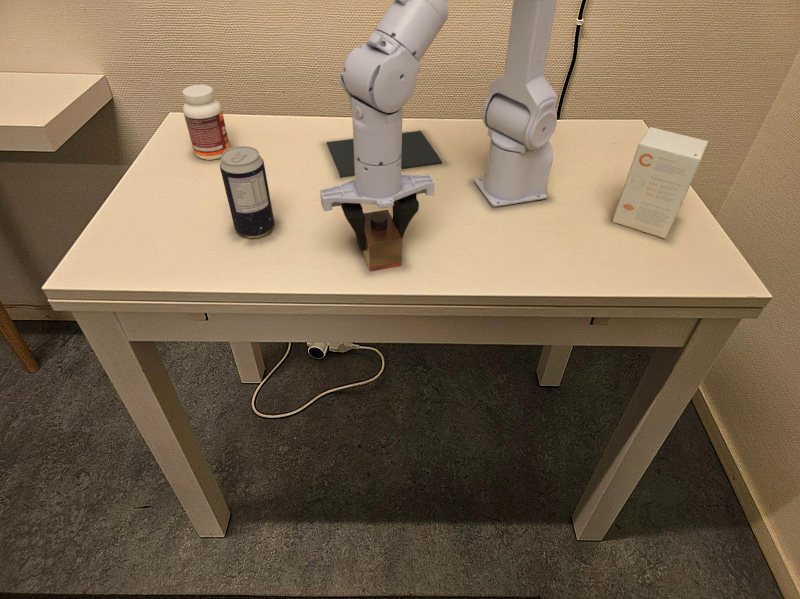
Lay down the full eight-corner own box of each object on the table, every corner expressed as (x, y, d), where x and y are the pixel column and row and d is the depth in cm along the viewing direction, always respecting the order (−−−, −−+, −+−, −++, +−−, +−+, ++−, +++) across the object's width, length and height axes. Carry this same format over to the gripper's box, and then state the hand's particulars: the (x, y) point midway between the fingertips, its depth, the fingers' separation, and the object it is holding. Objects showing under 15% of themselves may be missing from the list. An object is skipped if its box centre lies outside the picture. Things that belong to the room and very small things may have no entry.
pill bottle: (236, 155, 93) (222, 92, 86) (201, 164, 91) (184, 101, 83) (223, 140, 97) (209, 79, 89) (190, 149, 94) (172, 87, 87)
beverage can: (282, 222, 79) (270, 148, 71) (263, 244, 75) (247, 169, 67) (248, 215, 80) (232, 141, 72) (228, 236, 76) (208, 161, 68)
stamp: (387, 235, 77) (388, 200, 73) (401, 265, 73) (402, 230, 68) (357, 240, 76) (356, 205, 72) (369, 271, 72) (368, 235, 67)
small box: (674, 219, 82) (710, 140, 73) (665, 240, 78) (702, 159, 69) (621, 202, 85) (650, 125, 76) (610, 222, 81) (638, 142, 72)
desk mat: (420, 132, 101) (420, 130, 101) (442, 163, 93) (442, 161, 92) (326, 144, 97) (326, 141, 97) (340, 177, 89) (340, 175, 88)
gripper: (324, 179, 60) (332, 271, 69) (446, 162, 63) (438, 252, 72) (313, 149, 64) (322, 239, 74) (426, 135, 68) (421, 223, 77)
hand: (378, 243), depth 73 cm, fingers closed on stamp, 4 cm apart
